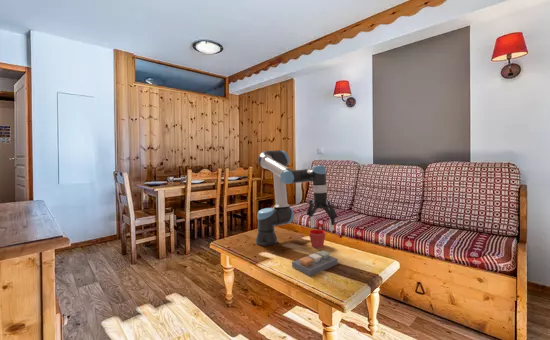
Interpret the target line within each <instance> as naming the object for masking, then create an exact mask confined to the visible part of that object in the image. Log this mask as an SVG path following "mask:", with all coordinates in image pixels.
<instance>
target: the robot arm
mask: <svg viewBox="0 0 550 340" xmlns="http://www.w3.org/2000/svg"><path fill="white" fill-rule="evenodd" d="M257 163H258V165H259V166H260V167H261V168H262V169H265V170H268V171H270V172H271V173H272V176H273V177H272V178H273V187H274V198H275V200H274V201H275V205H274V206H273V207H265V208H262V209H260V210H258V212H257V217H256V218H257V234H256V237H255V244H256V245H257V246H265V247H267V246H274V245H276V244H277V243H278V236H277V235H276V232H275V227H278V226H283V225H288V224H291V223H292V222H293V221H294V216H295V213H294V209H293V208H292V207H291V205H290V204H289V203H288V193H287V184H288V185H289V184H297V183H307V182H308V183H309V182H311V183H312V185H313V186H312V188H313V199H311V200H309V205H308V208H307V211H306V216H309V222H310V228H311V229H312V228H315V227H316V226H315V216H314V214H316V212H317V210H318V209H322V210H324V211H325V213H326V214H327V216H328V217H329V220H328V221H329V231H330V232H332V231H335V226H334V225H335V224H336V223H335V219H337V218H338V217H339V216H338V215H337V213H336V211H335V210H336V209H335V208H334V205H333V202H332V200H329V201H328V192H327V190H328V189H327V188H328V187H327V171H326V165H313V166H312V167H311V169H310V168H308V169H307V168H305V169H295V170H294V169H291V168H290V167H287V166H288V165H289V164H290V157H289V154H288V153H287V152H286V151H285V150H278V149H277V150H264V151H262V152H260V154H259V155H258V157H257Z"/></svg>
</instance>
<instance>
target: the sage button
mask: <svg viewBox="0 0 550 340" xmlns="http://www.w3.org/2000/svg"><path fill="white" fill-rule="evenodd" d="M316 253H317V254H318V255H320V256H322V259H326V258H329V256H331V252H329V251H326V250H320V251H317V252H316Z"/></svg>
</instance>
